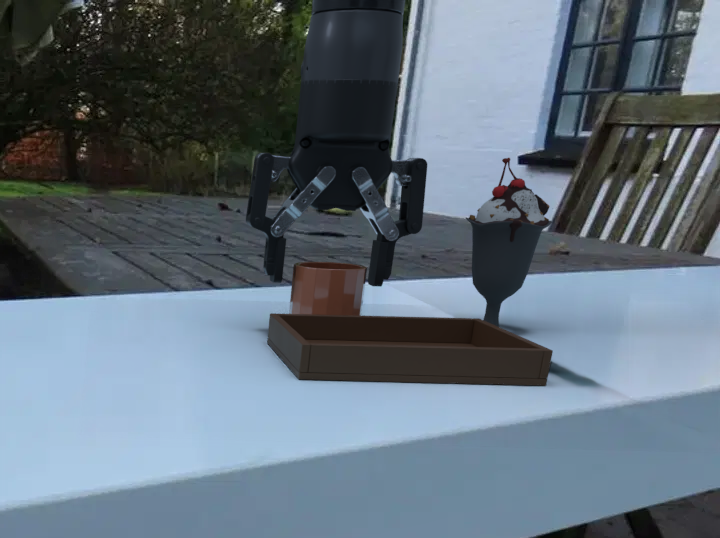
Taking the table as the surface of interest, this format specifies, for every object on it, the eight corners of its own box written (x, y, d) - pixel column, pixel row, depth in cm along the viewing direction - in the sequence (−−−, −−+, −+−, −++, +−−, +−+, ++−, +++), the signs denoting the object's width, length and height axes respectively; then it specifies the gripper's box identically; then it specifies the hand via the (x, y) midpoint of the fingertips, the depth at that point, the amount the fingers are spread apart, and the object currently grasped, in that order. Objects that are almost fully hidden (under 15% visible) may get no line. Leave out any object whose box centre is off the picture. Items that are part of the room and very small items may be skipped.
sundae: (449, 345, 78) (479, 156, 73) (444, 331, 84) (471, 156, 79) (534, 351, 76) (571, 158, 71) (523, 337, 82) (556, 158, 77)
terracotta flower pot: (348, 329, 84) (356, 262, 82) (366, 342, 78) (375, 270, 76) (282, 328, 84) (288, 260, 82) (295, 340, 78) (302, 268, 76)
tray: (474, 348, 77) (479, 318, 76) (546, 385, 64) (553, 350, 63) (267, 343, 77) (269, 313, 76) (298, 379, 65) (302, 344, 64)
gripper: (268, 72, 70) (249, 286, 76) (455, 77, 70) (422, 292, 76) (253, 79, 78) (236, 275, 83) (422, 84, 77) (395, 280, 83)
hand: (325, 283), depth 79 cm, fingers open, 8 cm apart
